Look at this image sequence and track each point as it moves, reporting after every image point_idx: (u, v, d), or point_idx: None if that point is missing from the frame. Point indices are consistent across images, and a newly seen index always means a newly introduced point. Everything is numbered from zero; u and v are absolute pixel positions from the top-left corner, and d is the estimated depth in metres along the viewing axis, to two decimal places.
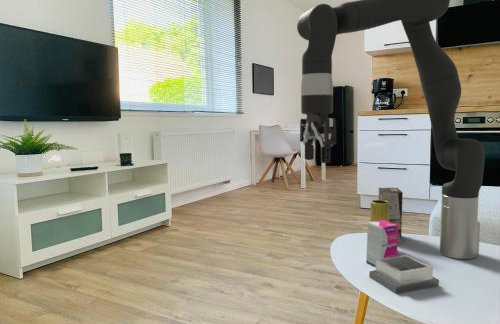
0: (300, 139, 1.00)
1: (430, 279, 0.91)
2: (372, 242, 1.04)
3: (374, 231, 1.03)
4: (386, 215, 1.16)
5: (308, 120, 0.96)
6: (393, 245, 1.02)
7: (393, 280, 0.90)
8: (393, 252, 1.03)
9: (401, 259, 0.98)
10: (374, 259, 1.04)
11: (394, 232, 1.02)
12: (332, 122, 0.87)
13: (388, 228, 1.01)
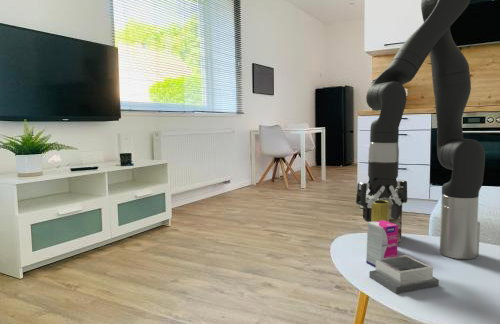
0: (363, 203, 1.00)
1: (430, 279, 0.91)
2: (372, 242, 1.04)
3: (374, 231, 1.03)
4: (386, 215, 1.16)
5: (377, 184, 1.01)
6: (393, 245, 1.02)
7: (393, 280, 0.90)
8: (393, 252, 1.03)
9: (401, 259, 0.98)
10: (374, 259, 1.03)
11: (394, 232, 1.02)
12: None
13: (388, 228, 1.01)
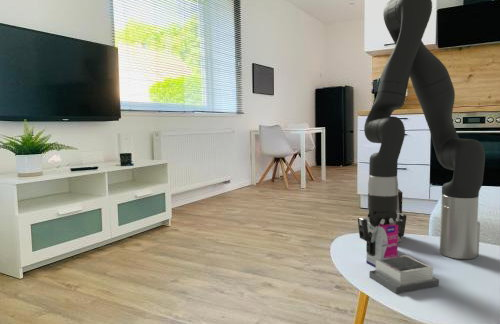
0: (367, 238, 1.01)
1: (430, 279, 0.91)
2: None
3: None
4: None
5: (377, 216, 1.02)
6: (393, 245, 1.02)
7: (393, 280, 0.90)
8: (393, 252, 1.03)
9: (401, 259, 0.98)
10: (374, 259, 1.03)
11: (394, 232, 1.02)
12: None
13: (388, 228, 1.01)
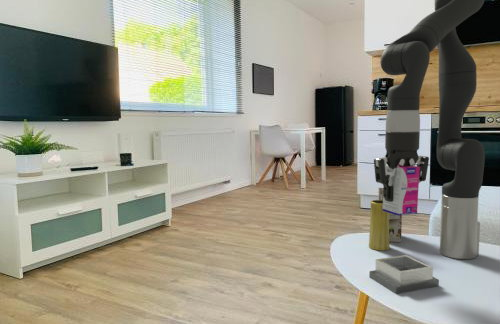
0: (384, 181, 0.90)
1: (430, 279, 0.91)
2: None
3: None
4: (386, 215, 1.16)
5: (396, 156, 0.91)
6: (414, 189, 0.91)
7: (393, 280, 0.90)
8: (413, 197, 0.91)
9: (401, 259, 0.98)
10: (391, 205, 0.92)
11: (415, 174, 0.91)
12: None
13: (408, 169, 0.90)
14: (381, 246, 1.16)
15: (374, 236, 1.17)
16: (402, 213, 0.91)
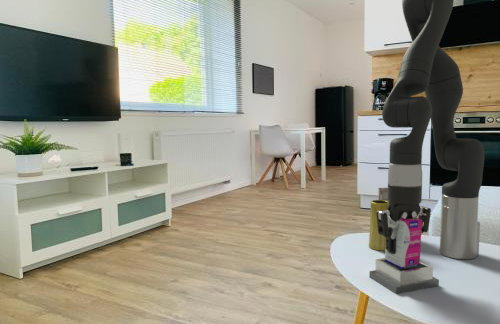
0: (387, 234, 0.90)
1: (430, 279, 0.91)
2: None
3: None
4: None
5: (398, 209, 0.91)
6: (416, 242, 0.91)
7: (393, 280, 0.90)
8: (415, 249, 0.91)
9: None
10: (394, 258, 0.92)
11: (417, 227, 0.91)
12: None
13: (411, 222, 0.90)
14: (381, 246, 1.16)
15: (374, 236, 1.17)
16: (405, 266, 0.91)
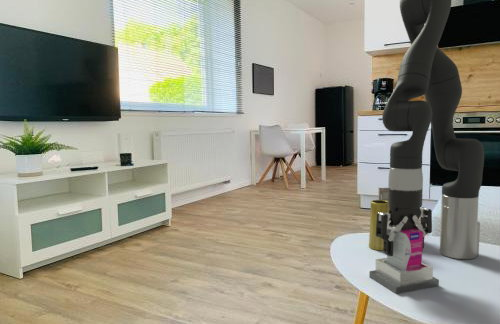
0: (384, 236, 0.90)
1: (430, 279, 0.91)
2: (393, 250, 0.93)
3: (396, 238, 0.92)
4: None
5: (399, 214, 0.91)
6: (418, 254, 0.91)
7: (393, 280, 0.90)
8: (417, 261, 0.92)
9: None
10: None
11: (418, 239, 0.91)
12: None
13: (412, 234, 0.90)
14: (381, 246, 1.16)
15: (374, 236, 1.17)
16: None
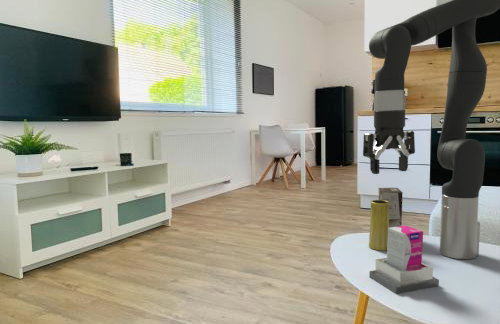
0: (371, 154, 0.97)
1: (430, 279, 0.91)
2: (393, 250, 0.93)
3: (396, 238, 0.92)
4: (386, 215, 1.16)
5: (384, 134, 0.98)
6: (418, 254, 0.91)
7: (393, 280, 0.90)
8: (417, 261, 0.92)
9: None
10: None
11: (418, 239, 0.91)
12: None
13: (412, 234, 0.90)
14: (381, 246, 1.16)
15: (374, 236, 1.17)
16: None
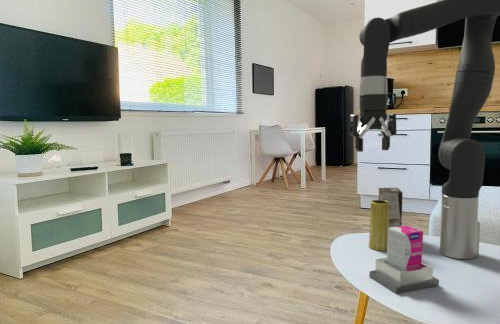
0: (355, 133, 1.08)
1: (430, 279, 0.91)
2: (393, 250, 0.93)
3: (396, 238, 0.92)
4: (386, 215, 1.16)
5: (368, 116, 1.08)
6: (418, 254, 0.91)
7: (393, 280, 0.90)
8: (417, 261, 0.92)
9: None
10: None
11: (418, 239, 0.91)
12: None
13: (412, 234, 0.90)
14: (381, 246, 1.16)
15: (374, 236, 1.17)
16: None
